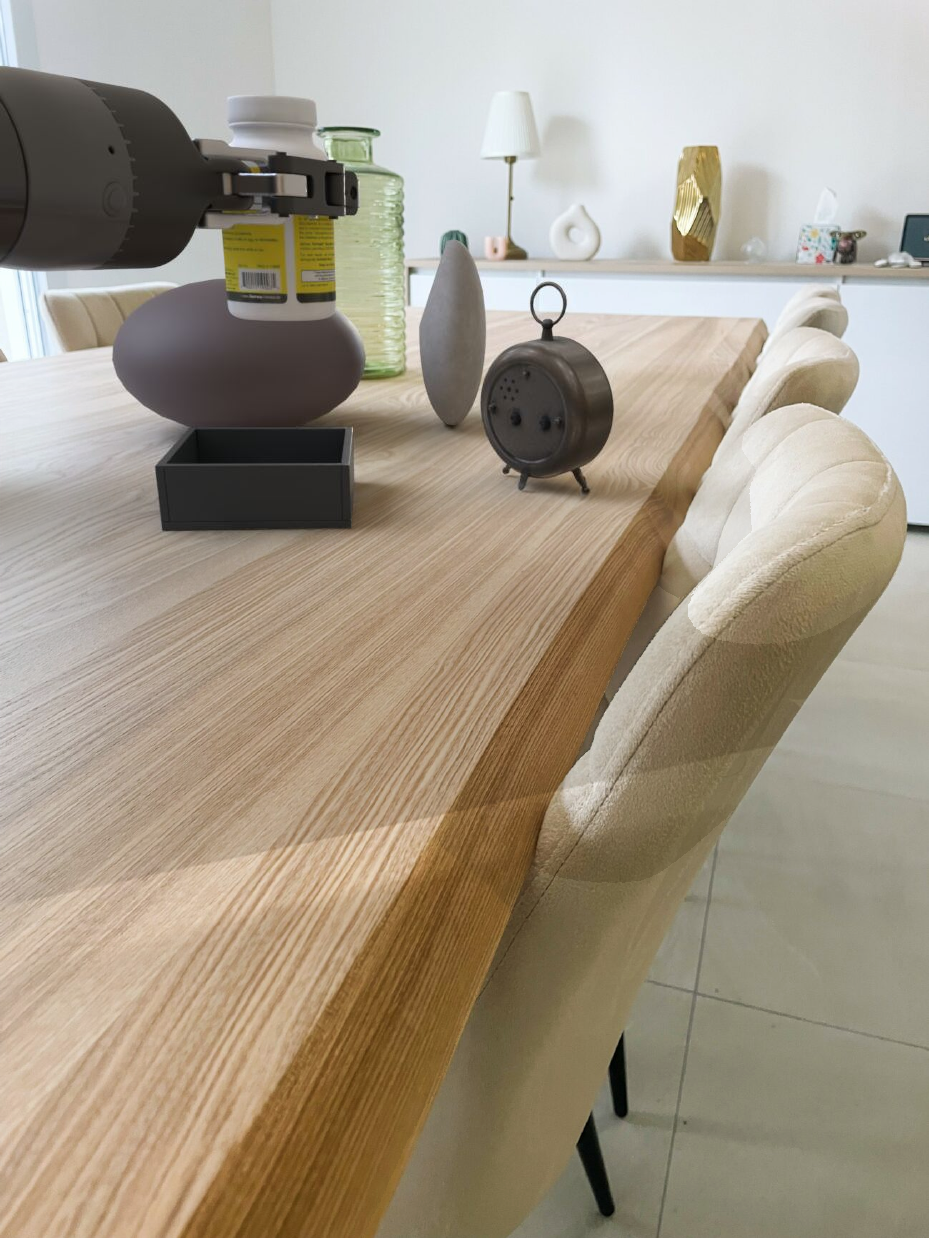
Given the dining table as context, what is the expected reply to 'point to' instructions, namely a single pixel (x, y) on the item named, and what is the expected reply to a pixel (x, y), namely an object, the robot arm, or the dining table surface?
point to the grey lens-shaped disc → (453, 335)
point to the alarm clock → (547, 404)
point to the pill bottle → (278, 254)
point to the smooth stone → (234, 361)
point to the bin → (258, 479)
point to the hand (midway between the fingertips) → (302, 193)
